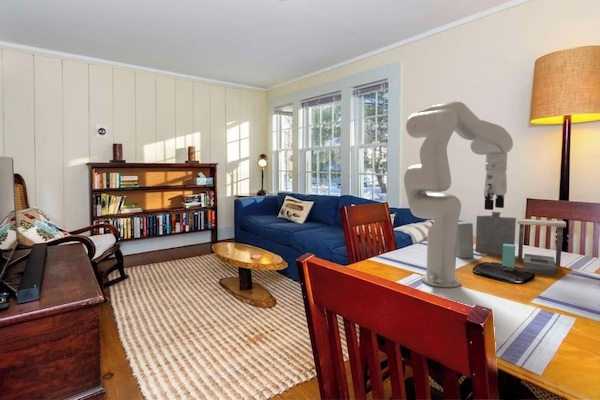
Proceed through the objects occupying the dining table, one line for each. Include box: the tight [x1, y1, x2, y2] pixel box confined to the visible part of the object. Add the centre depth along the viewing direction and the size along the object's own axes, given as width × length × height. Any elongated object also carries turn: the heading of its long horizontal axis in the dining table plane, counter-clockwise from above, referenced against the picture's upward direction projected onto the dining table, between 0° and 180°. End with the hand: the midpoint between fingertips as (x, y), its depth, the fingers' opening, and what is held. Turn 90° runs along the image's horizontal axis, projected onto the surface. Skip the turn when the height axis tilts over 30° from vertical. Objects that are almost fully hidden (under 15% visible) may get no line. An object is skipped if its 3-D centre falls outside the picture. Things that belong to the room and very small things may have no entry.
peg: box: [501, 244, 516, 269], centre depth 134 cm, size 4×4×10 cm
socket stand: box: [516, 218, 567, 278], centre depth 135 cm, size 18×16×18 cm
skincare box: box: [456, 220, 475, 259], centre depth 155 cm, size 8×7×16 cm
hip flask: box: [474, 211, 517, 256], centre depth 159 cm, size 16×4×20 cm, turn 60°
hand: (494, 208), depth 140 cm, fingers open, 9 cm apart
